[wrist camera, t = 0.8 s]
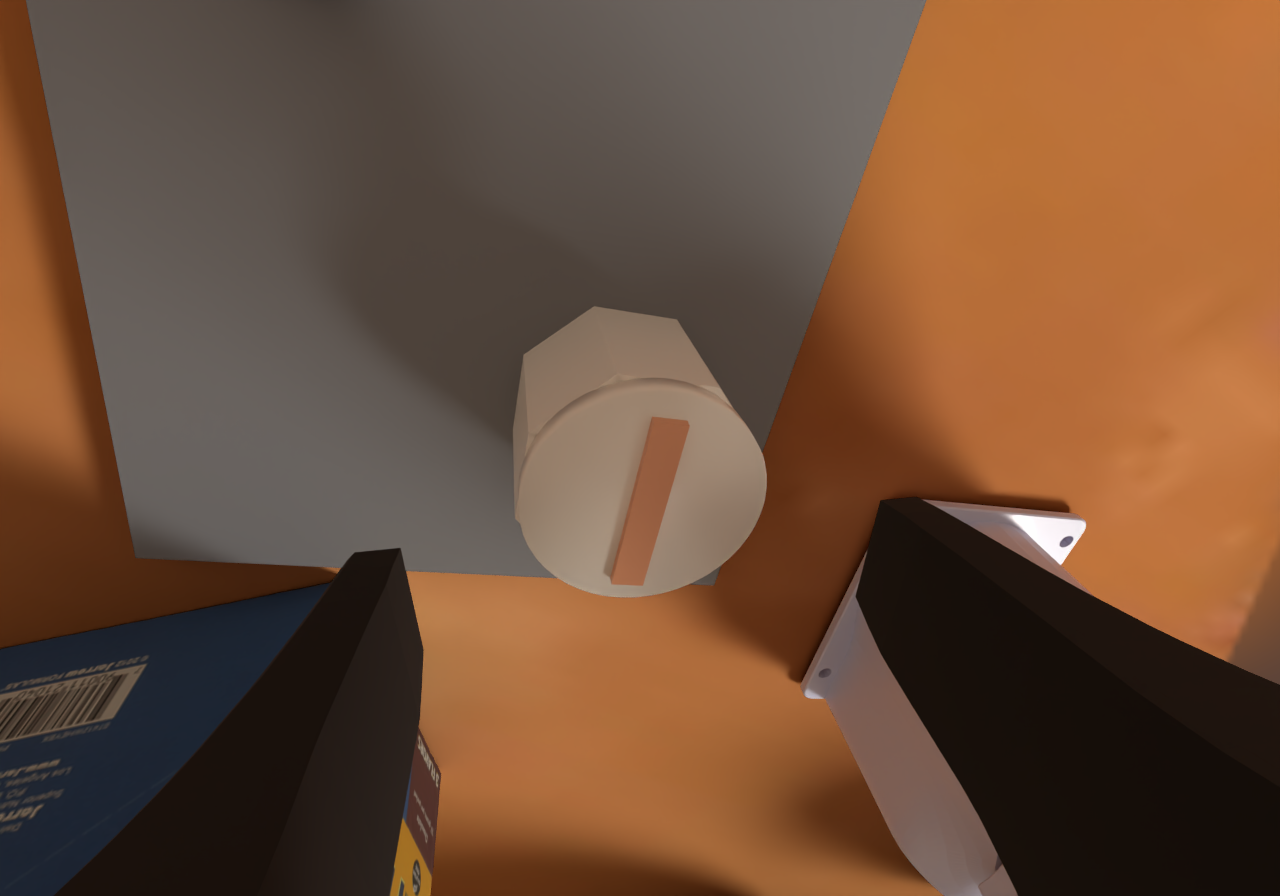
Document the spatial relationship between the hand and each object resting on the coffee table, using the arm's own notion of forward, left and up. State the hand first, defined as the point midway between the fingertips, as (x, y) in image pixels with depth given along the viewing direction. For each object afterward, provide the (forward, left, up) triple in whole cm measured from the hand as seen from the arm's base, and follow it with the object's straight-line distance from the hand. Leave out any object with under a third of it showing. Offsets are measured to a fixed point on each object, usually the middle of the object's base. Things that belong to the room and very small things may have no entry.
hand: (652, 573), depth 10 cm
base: (+3, +3, -9) cm, 10 cm away
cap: (-1, -1, -8) cm, 8 cm away
